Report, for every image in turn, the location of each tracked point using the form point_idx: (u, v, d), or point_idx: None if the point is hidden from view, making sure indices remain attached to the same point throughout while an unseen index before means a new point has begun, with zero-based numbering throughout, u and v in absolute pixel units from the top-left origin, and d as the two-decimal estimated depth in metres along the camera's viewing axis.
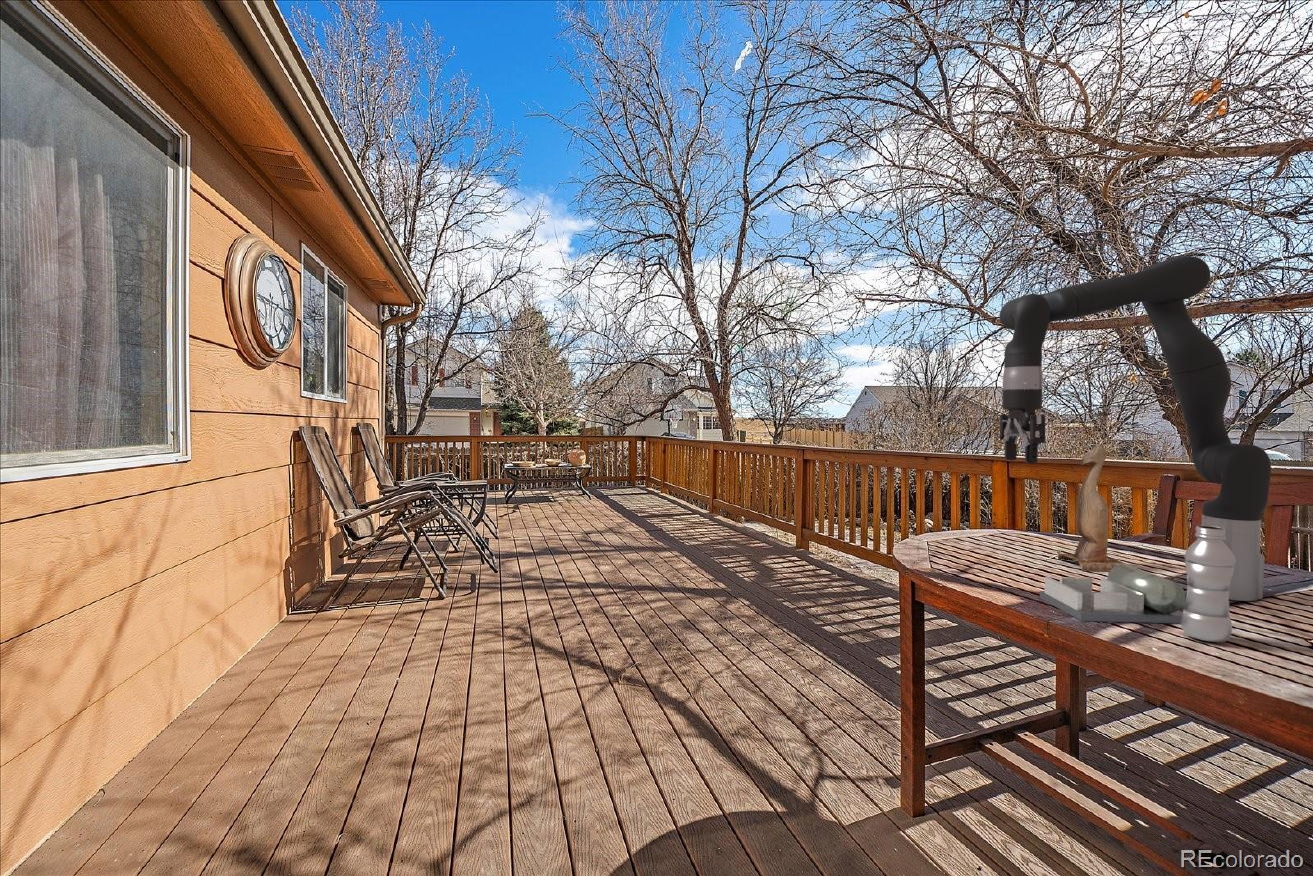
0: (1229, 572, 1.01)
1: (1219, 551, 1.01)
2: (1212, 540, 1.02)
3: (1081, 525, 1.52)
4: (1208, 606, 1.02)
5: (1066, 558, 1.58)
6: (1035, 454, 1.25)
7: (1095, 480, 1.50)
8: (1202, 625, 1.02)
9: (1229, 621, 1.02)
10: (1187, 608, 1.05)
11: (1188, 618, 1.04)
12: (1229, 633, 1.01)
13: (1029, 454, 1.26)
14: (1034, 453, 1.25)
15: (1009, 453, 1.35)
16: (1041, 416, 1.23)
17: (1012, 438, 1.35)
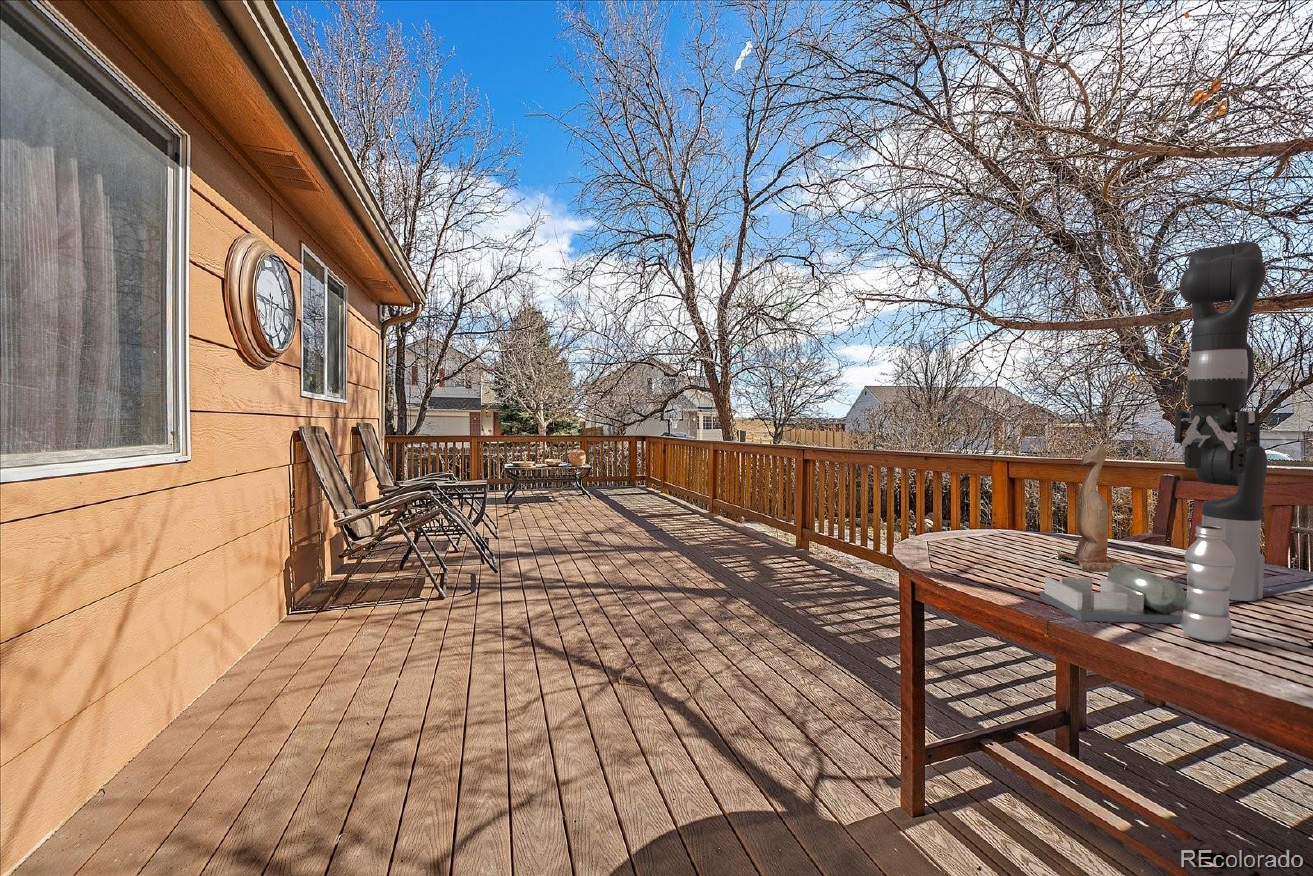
0: (1229, 572, 1.01)
1: (1219, 551, 1.01)
2: (1212, 540, 1.02)
3: (1081, 525, 1.52)
4: (1208, 606, 1.02)
5: (1066, 558, 1.58)
6: (1242, 462, 0.98)
7: (1095, 480, 1.50)
8: (1202, 625, 1.02)
9: (1229, 621, 1.02)
10: (1187, 608, 1.05)
11: (1188, 618, 1.04)
12: (1229, 633, 1.01)
13: (1234, 462, 0.98)
14: (1241, 460, 0.98)
15: (1191, 460, 1.07)
16: (1254, 413, 0.96)
17: (1195, 441, 1.07)
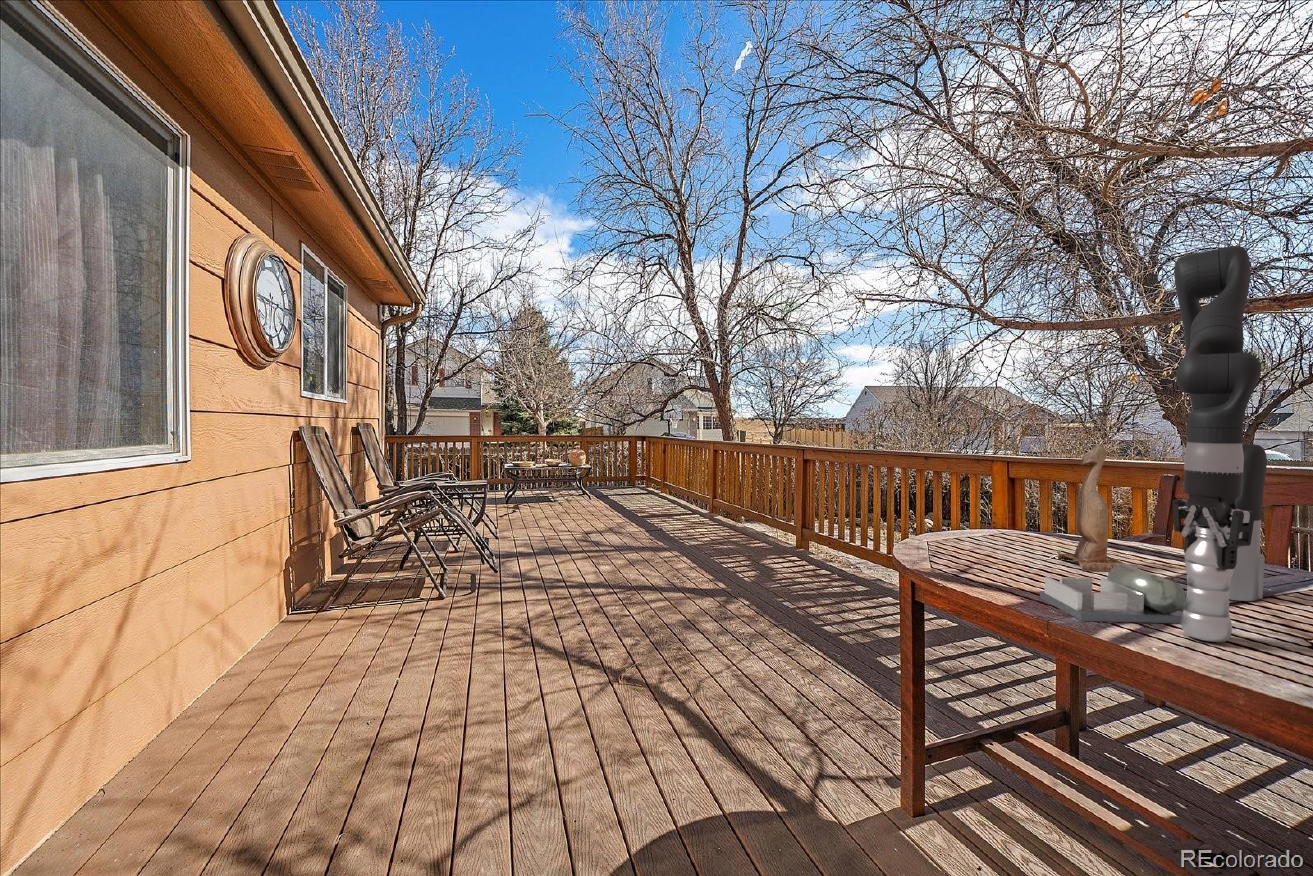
0: (1229, 572, 1.01)
1: None
2: (1212, 540, 1.02)
3: (1081, 525, 1.52)
4: (1208, 606, 1.02)
5: (1066, 558, 1.58)
6: (1234, 559, 0.99)
7: (1095, 480, 1.50)
8: (1202, 625, 1.02)
9: (1229, 621, 1.02)
10: (1187, 608, 1.05)
11: (1189, 618, 1.04)
12: (1229, 633, 1.01)
13: (1225, 558, 1.00)
14: (1232, 557, 0.99)
15: None
16: (1250, 514, 0.97)
17: (1195, 531, 1.07)
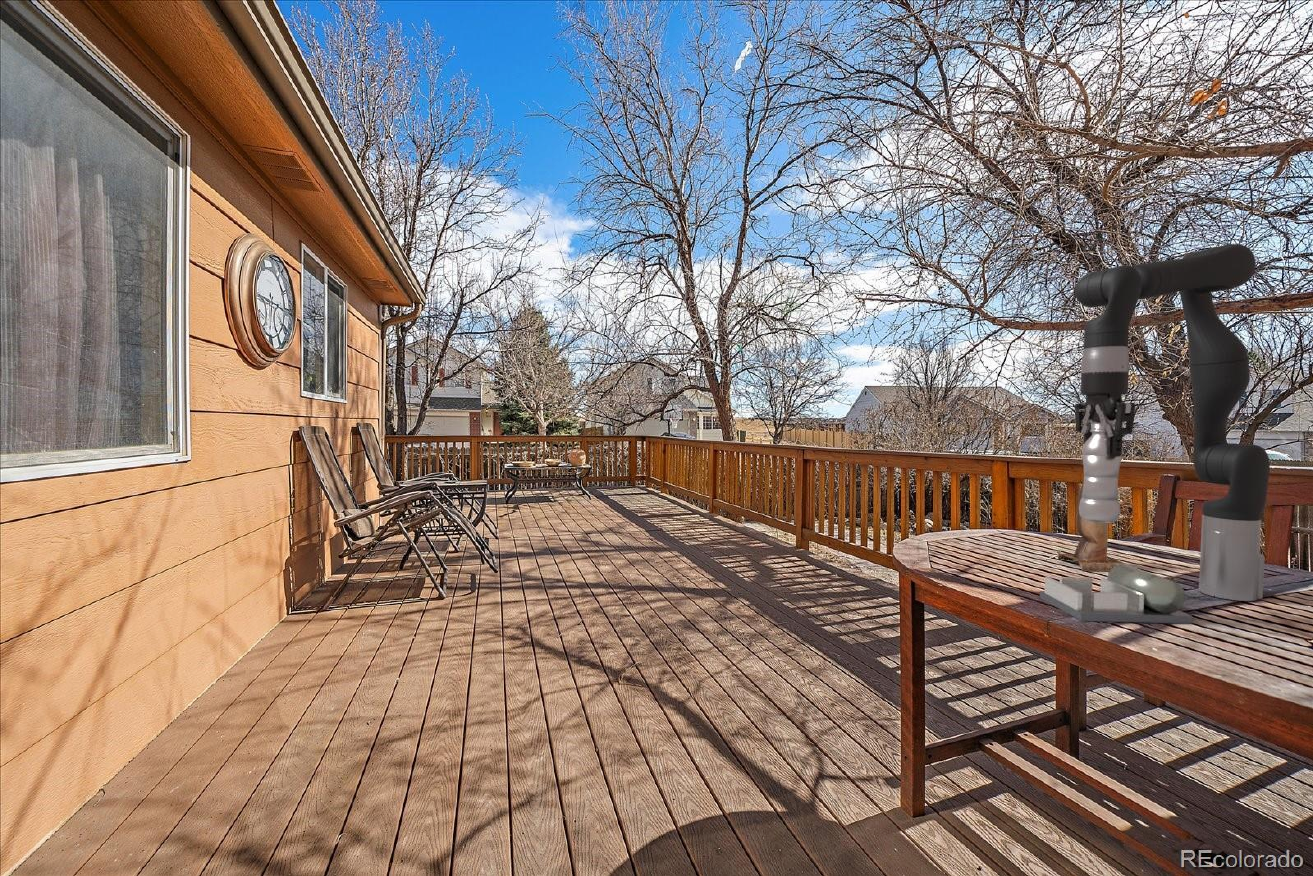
0: (1117, 460, 1.15)
1: None
2: (1103, 433, 1.16)
3: (1081, 525, 1.52)
4: (1099, 491, 1.16)
5: (1066, 558, 1.58)
6: (1119, 446, 1.13)
7: None
8: (1095, 508, 1.16)
9: (1117, 504, 1.16)
10: (1083, 495, 1.19)
11: (1084, 503, 1.18)
12: (1117, 514, 1.15)
13: (1112, 446, 1.14)
14: (1118, 445, 1.13)
15: None
16: (1131, 405, 1.11)
17: None
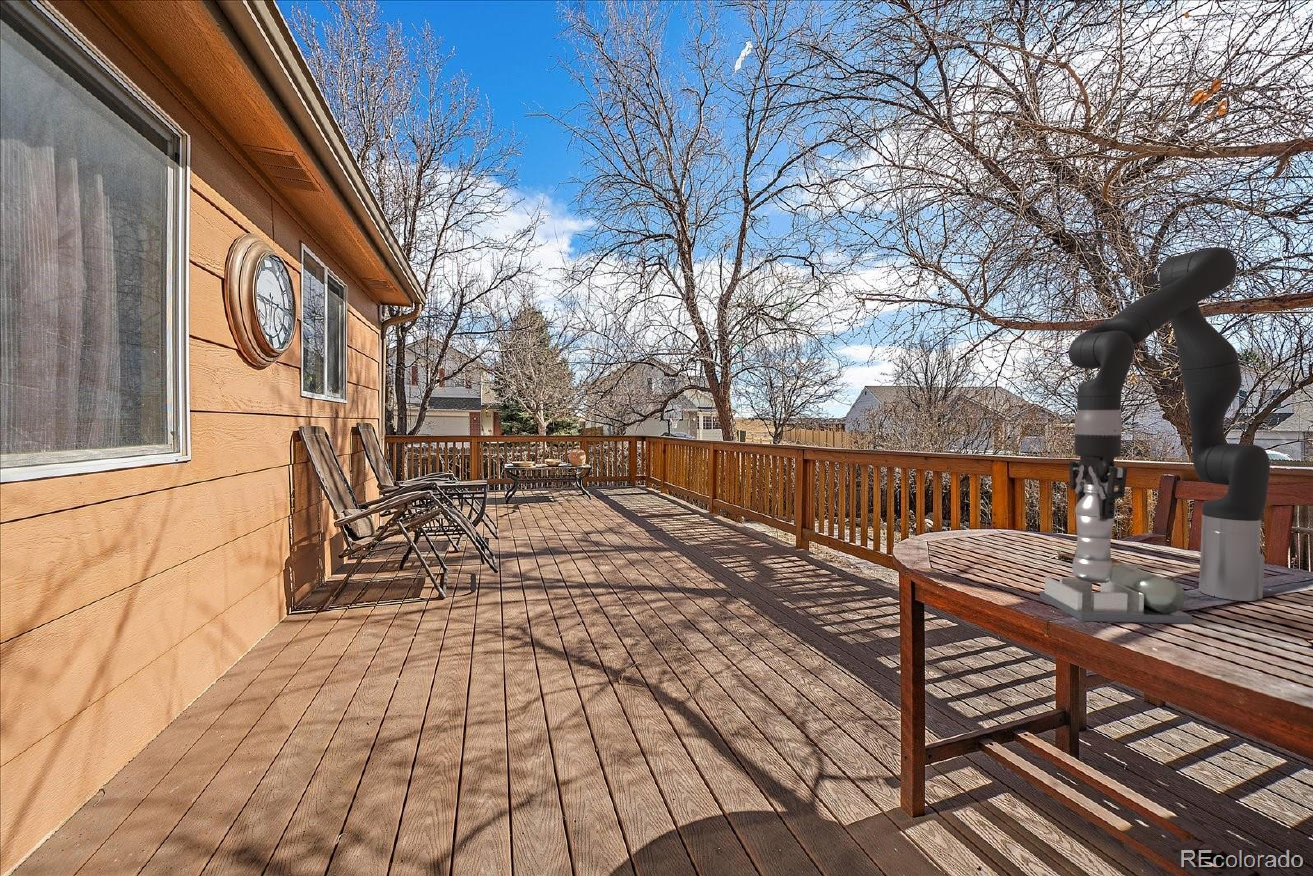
0: (1109, 521, 1.16)
1: None
2: (1096, 494, 1.18)
3: None
4: (1092, 551, 1.18)
5: (1066, 558, 1.58)
6: (1112, 509, 1.15)
7: None
8: (1087, 569, 1.18)
9: (1110, 564, 1.17)
10: (1076, 555, 1.20)
11: (1077, 563, 1.20)
12: (1110, 575, 1.17)
13: (1105, 509, 1.15)
14: (1111, 508, 1.15)
15: None
16: (1123, 469, 1.12)
17: None
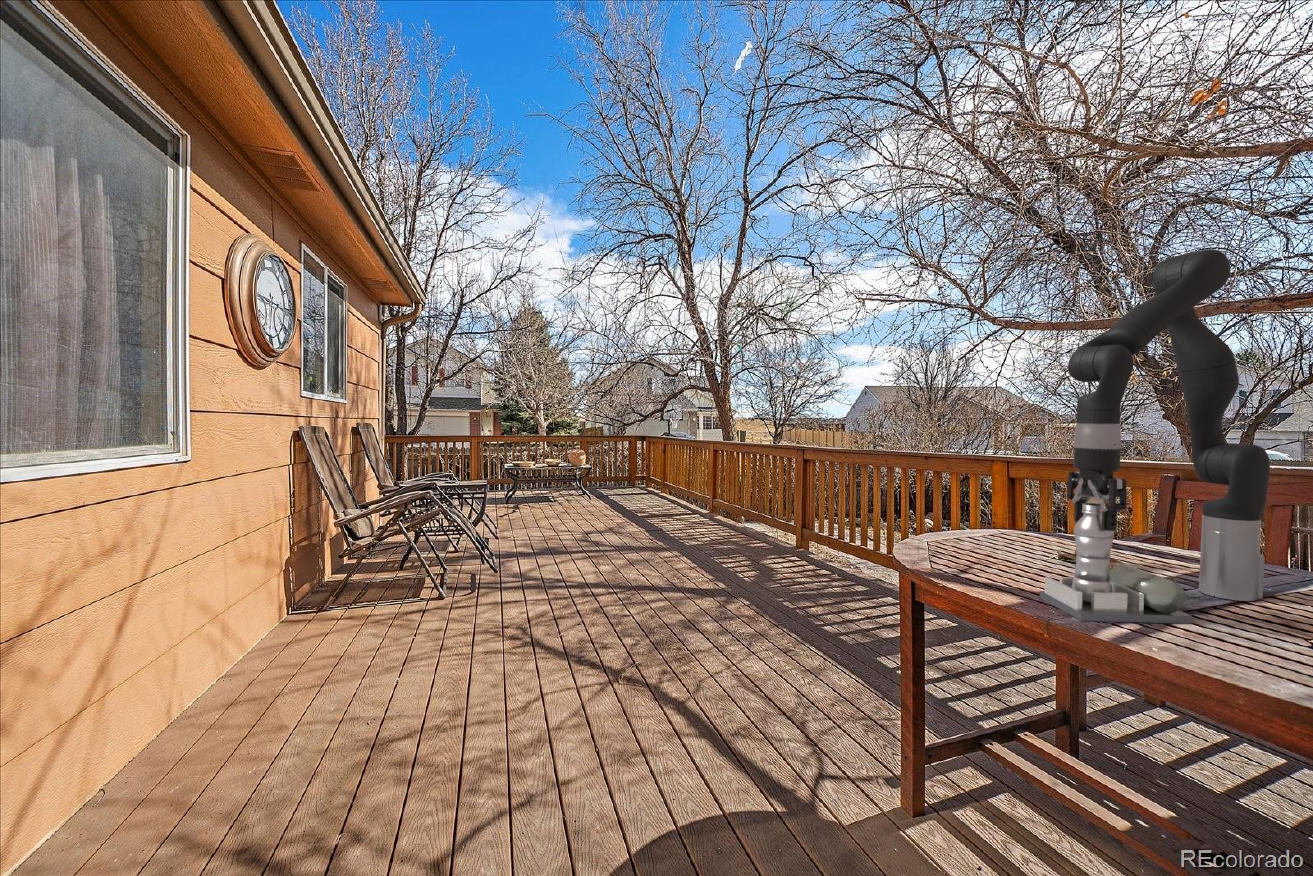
0: (1108, 542, 1.16)
1: (1099, 524, 1.17)
2: (1094, 515, 1.18)
3: None
4: (1091, 572, 1.18)
5: (1066, 558, 1.58)
6: (1114, 521, 1.14)
7: None
8: (1087, 589, 1.18)
9: (1109, 585, 1.17)
10: (1076, 575, 1.20)
11: (1077, 583, 1.20)
12: None
13: (1107, 521, 1.14)
14: (1113, 520, 1.14)
15: (1079, 515, 1.23)
16: (1122, 480, 1.12)
17: (1082, 499, 1.23)
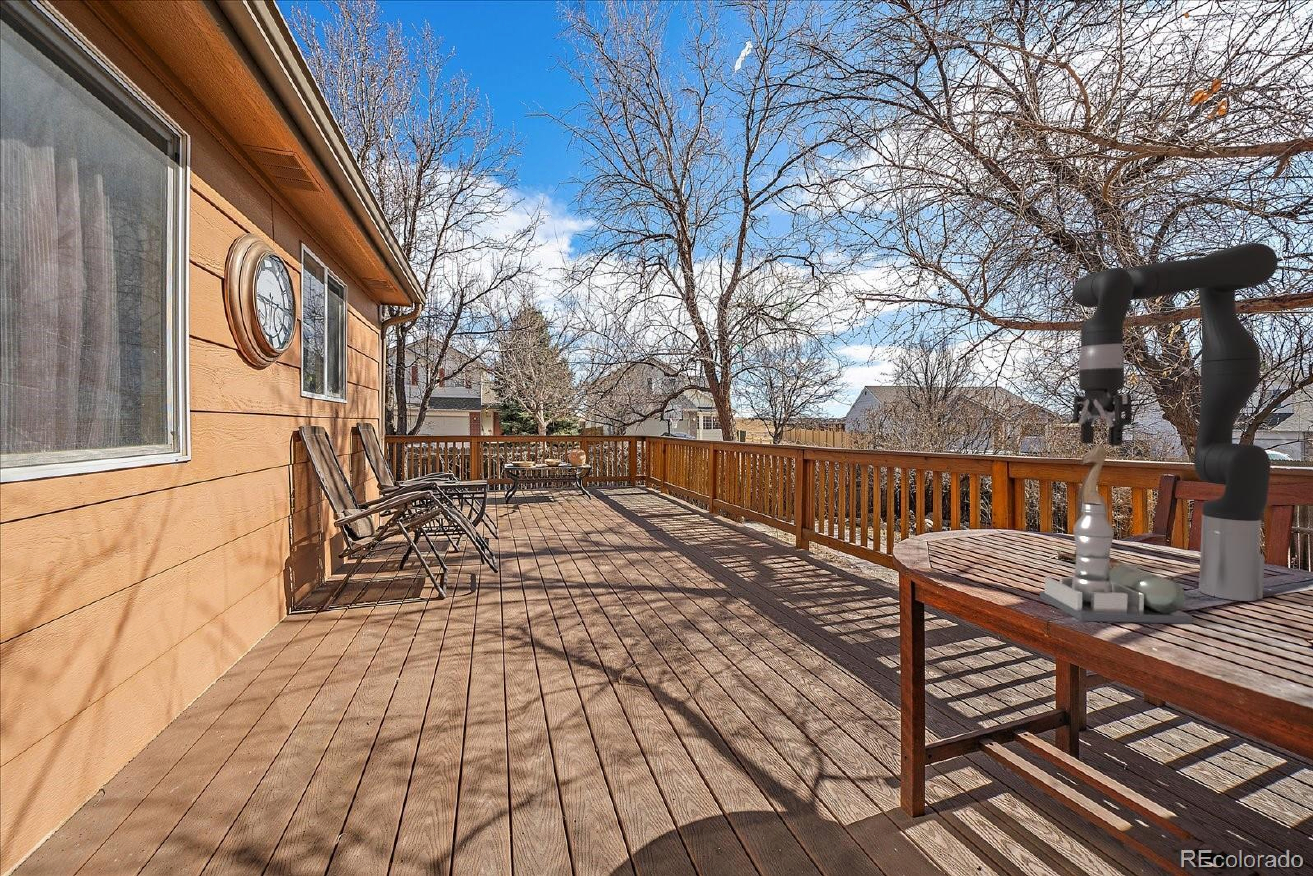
0: (1107, 541, 1.17)
1: (1098, 523, 1.17)
2: (1094, 514, 1.18)
3: None
4: (1091, 571, 1.18)
5: (1066, 558, 1.58)
6: (1120, 436, 1.19)
7: (1095, 480, 1.50)
8: (1087, 588, 1.18)
9: (1109, 584, 1.17)
10: (1076, 574, 1.21)
11: (1076, 583, 1.20)
12: None
13: (1113, 436, 1.20)
14: (1119, 435, 1.19)
15: (1086, 436, 1.29)
16: (1127, 396, 1.18)
17: (1088, 420, 1.29)
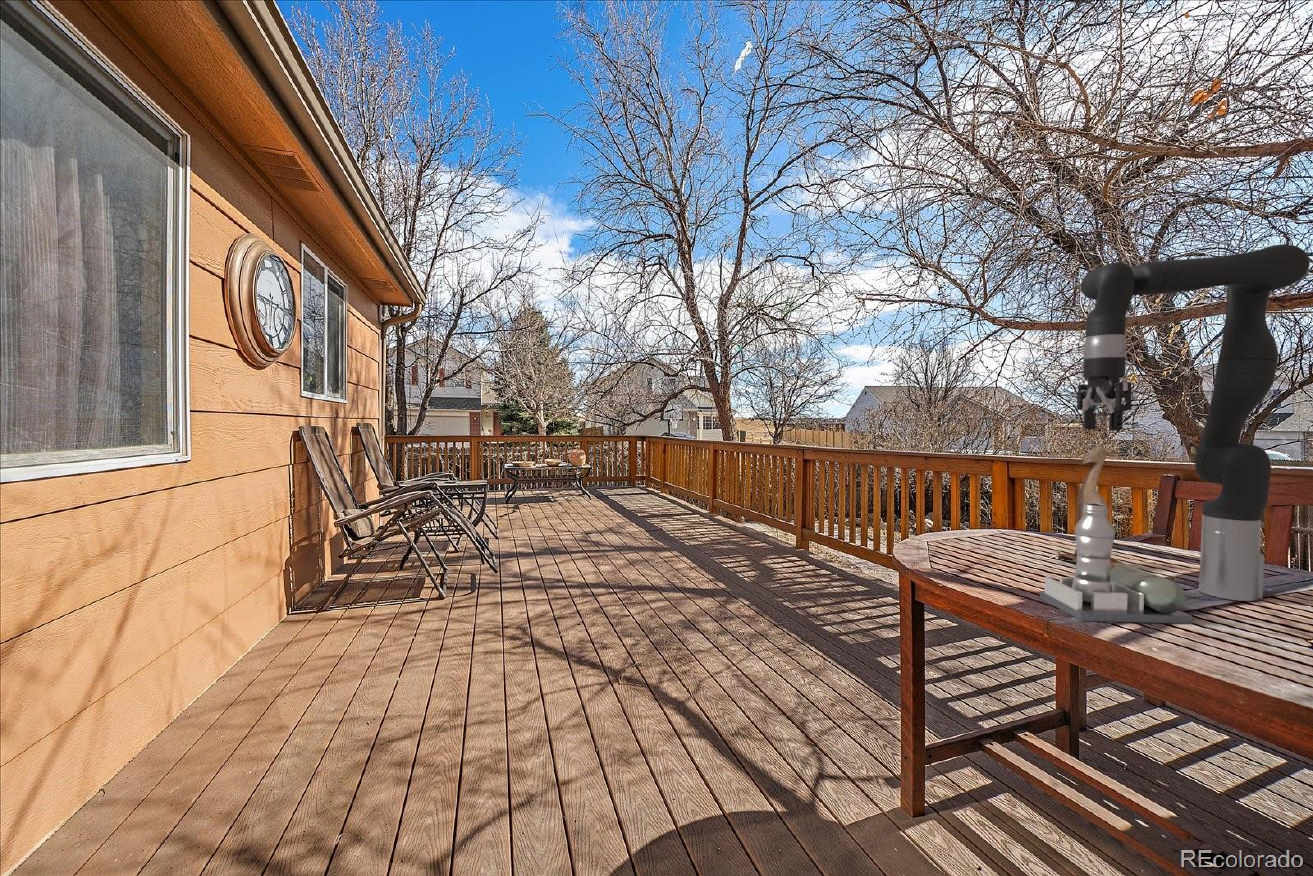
0: (1109, 542, 1.17)
1: (1100, 524, 1.17)
2: (1095, 515, 1.18)
3: None
4: (1092, 572, 1.18)
5: (1066, 558, 1.58)
6: (1120, 421, 1.26)
7: (1095, 480, 1.50)
8: (1087, 589, 1.18)
9: (1109, 585, 1.17)
10: (1076, 575, 1.21)
11: (1077, 583, 1.20)
12: None
13: (1114, 421, 1.27)
14: (1119, 420, 1.26)
15: (1088, 422, 1.35)
16: (1127, 383, 1.24)
17: (1091, 408, 1.36)
